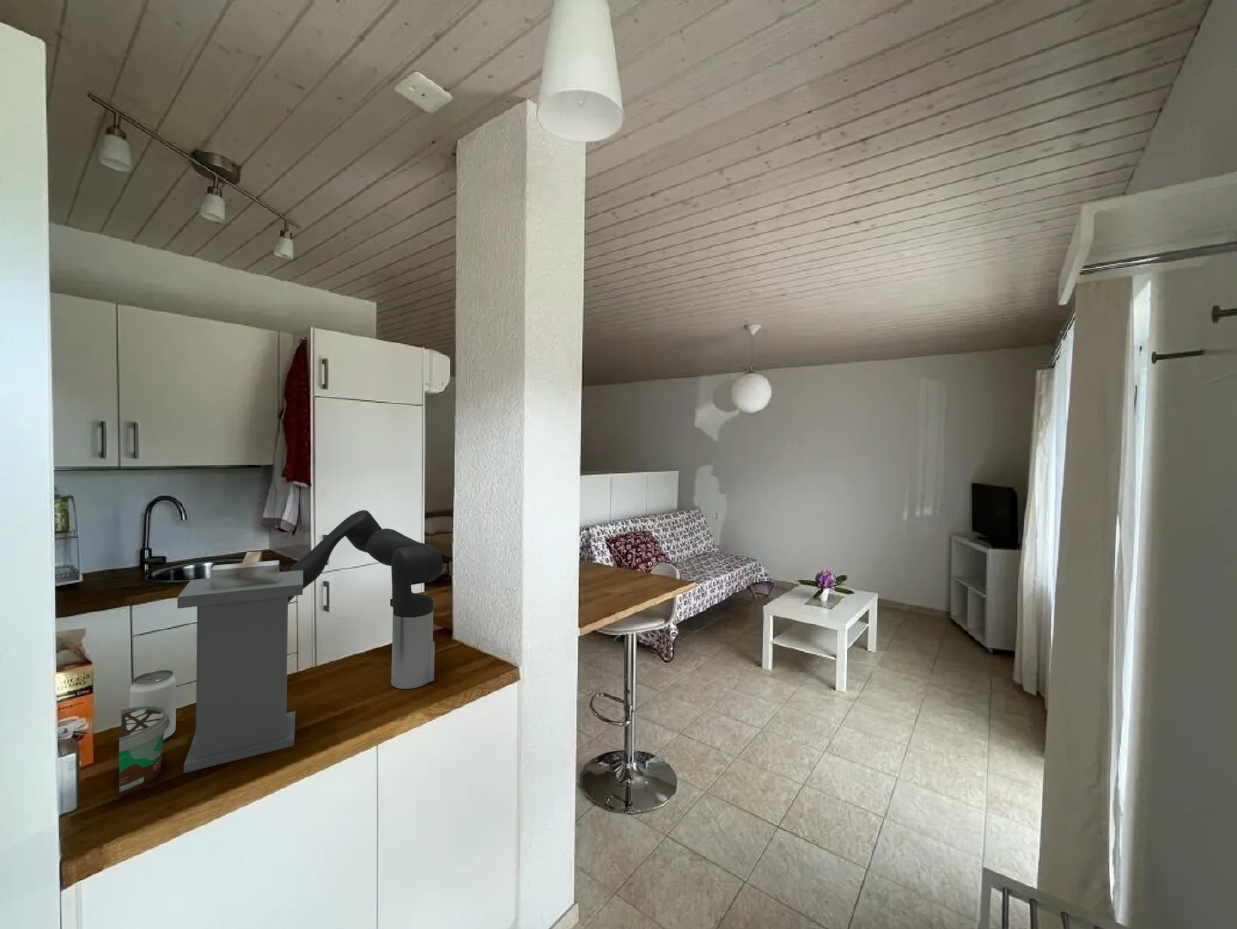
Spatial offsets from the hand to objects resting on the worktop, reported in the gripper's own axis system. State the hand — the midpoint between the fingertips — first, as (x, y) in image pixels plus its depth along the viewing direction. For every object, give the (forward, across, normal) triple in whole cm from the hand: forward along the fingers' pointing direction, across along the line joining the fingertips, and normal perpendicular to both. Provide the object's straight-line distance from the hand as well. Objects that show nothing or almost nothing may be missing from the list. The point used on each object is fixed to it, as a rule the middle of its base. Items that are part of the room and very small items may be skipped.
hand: (250, 567), depth 108 cm
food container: (+2, +12, -36) cm, 39 cm away
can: (-9, +14, -30) cm, 34 cm away
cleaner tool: (+9, -1, -4) cm, 10 cm away
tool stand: (0, -1, -35) cm, 35 cm away
